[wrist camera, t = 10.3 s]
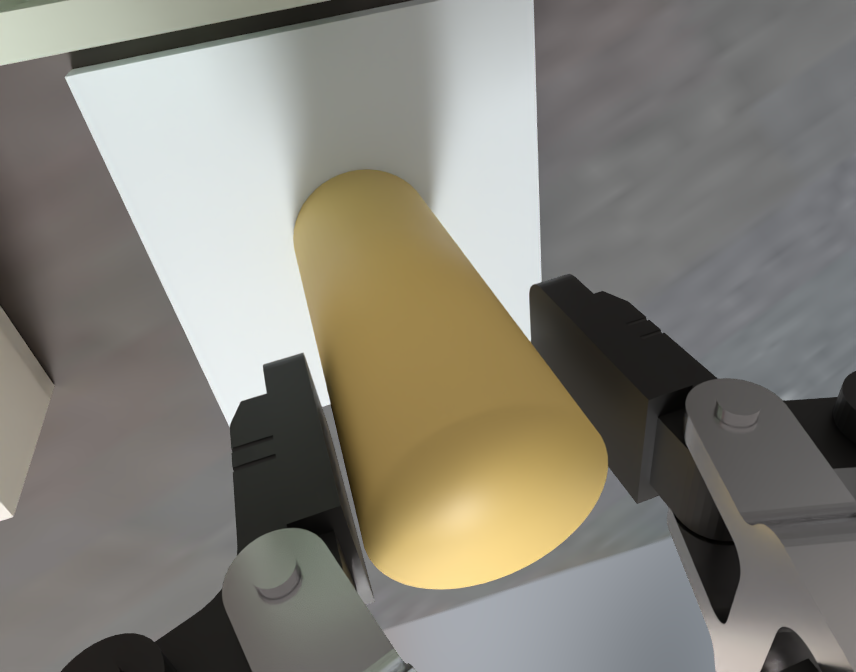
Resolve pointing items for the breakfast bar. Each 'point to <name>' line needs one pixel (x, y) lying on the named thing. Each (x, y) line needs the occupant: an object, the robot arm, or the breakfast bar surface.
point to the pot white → (18, 412)
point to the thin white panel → (318, 160)
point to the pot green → (110, 21)
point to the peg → (436, 394)
